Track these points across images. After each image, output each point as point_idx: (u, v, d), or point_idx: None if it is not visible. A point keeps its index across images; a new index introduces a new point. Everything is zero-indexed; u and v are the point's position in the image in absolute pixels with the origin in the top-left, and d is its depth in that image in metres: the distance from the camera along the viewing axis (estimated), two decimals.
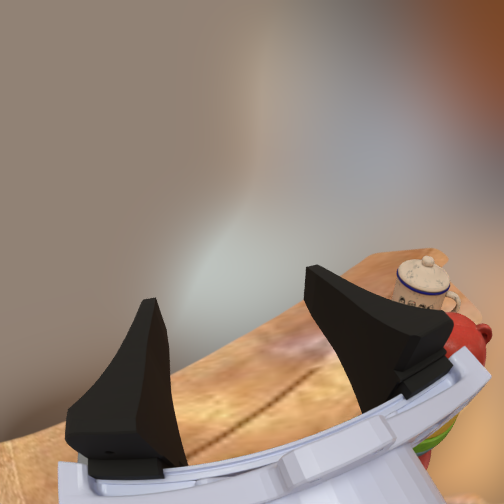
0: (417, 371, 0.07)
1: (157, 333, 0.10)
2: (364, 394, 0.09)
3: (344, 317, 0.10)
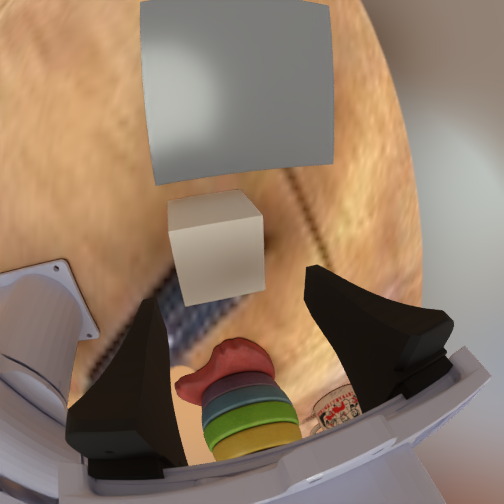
0: (417, 371, 0.07)
1: (157, 333, 0.10)
2: (364, 395, 0.09)
3: (344, 317, 0.10)
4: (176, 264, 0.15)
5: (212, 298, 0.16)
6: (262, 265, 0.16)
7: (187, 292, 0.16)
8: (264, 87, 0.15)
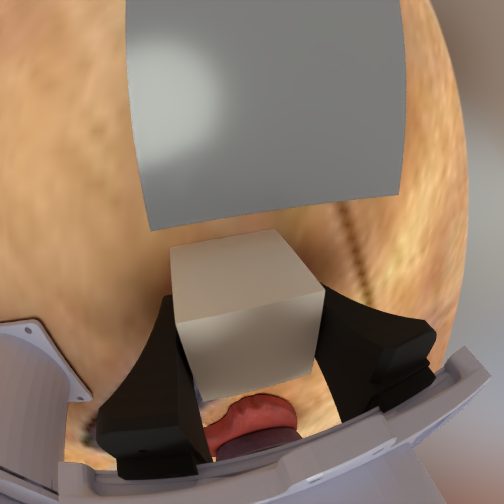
0: (396, 383, 0.07)
1: None
2: (342, 404, 0.09)
3: (322, 324, 0.10)
4: (190, 361, 0.09)
5: (241, 391, 0.11)
6: (313, 349, 0.11)
7: (207, 388, 0.10)
8: (320, 80, 0.09)
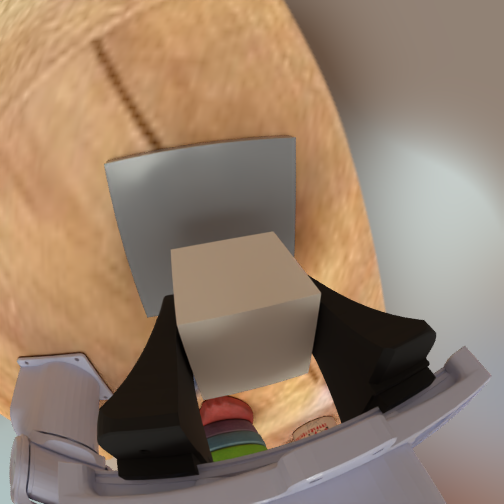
0: (395, 383, 0.07)
1: None
2: (342, 404, 0.09)
3: (321, 324, 0.10)
4: (191, 361, 0.10)
5: (240, 390, 0.11)
6: (309, 350, 0.11)
7: (207, 387, 0.11)
8: None
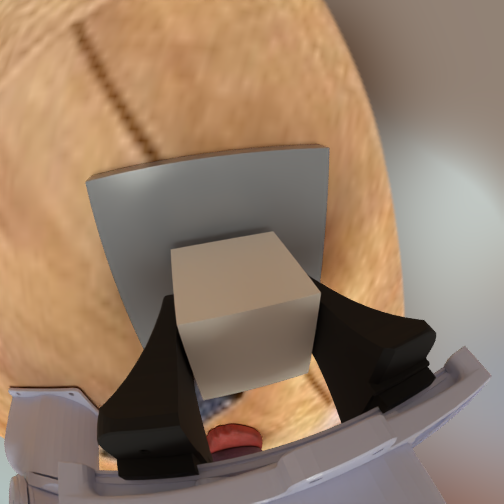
0: (395, 383, 0.07)
1: None
2: (342, 404, 0.09)
3: (321, 324, 0.10)
4: (191, 361, 0.10)
5: (240, 390, 0.11)
6: (309, 349, 0.11)
7: (207, 387, 0.11)
8: None
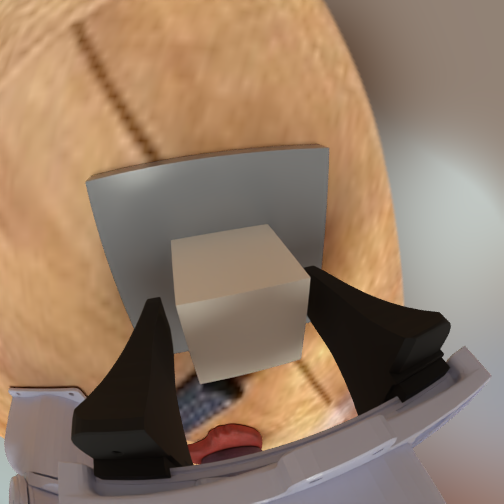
0: (414, 373, 0.07)
1: (162, 332, 0.10)
2: (360, 396, 0.09)
3: (340, 318, 0.10)
4: (188, 342, 0.10)
5: (235, 374, 0.12)
6: (301, 334, 0.12)
7: (203, 370, 0.11)
8: None
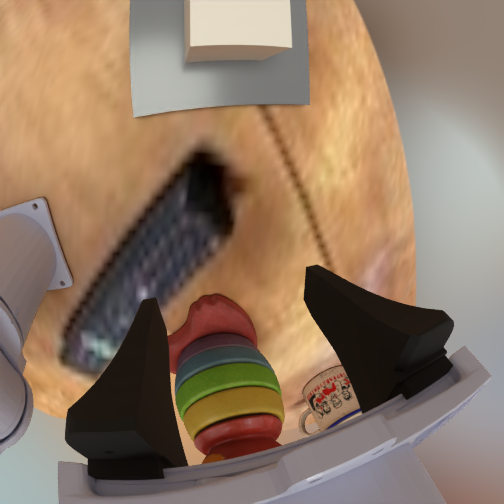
0: (418, 371, 0.07)
1: (157, 333, 0.10)
2: (364, 395, 0.09)
3: (344, 317, 0.10)
4: None
5: (227, 41, 0.10)
6: (288, 17, 0.10)
7: (197, 27, 0.09)
8: None
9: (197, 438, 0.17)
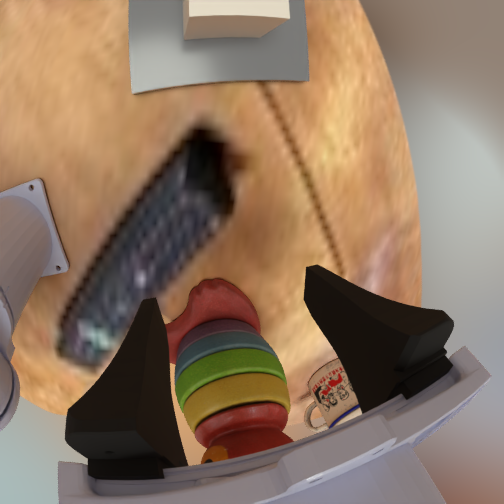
0: (417, 371, 0.07)
1: (157, 333, 0.10)
2: (364, 394, 0.09)
3: (344, 317, 0.10)
4: None
5: (225, 12, 0.09)
6: None
7: (196, 0, 0.09)
8: None
9: (198, 429, 0.16)
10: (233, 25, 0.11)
